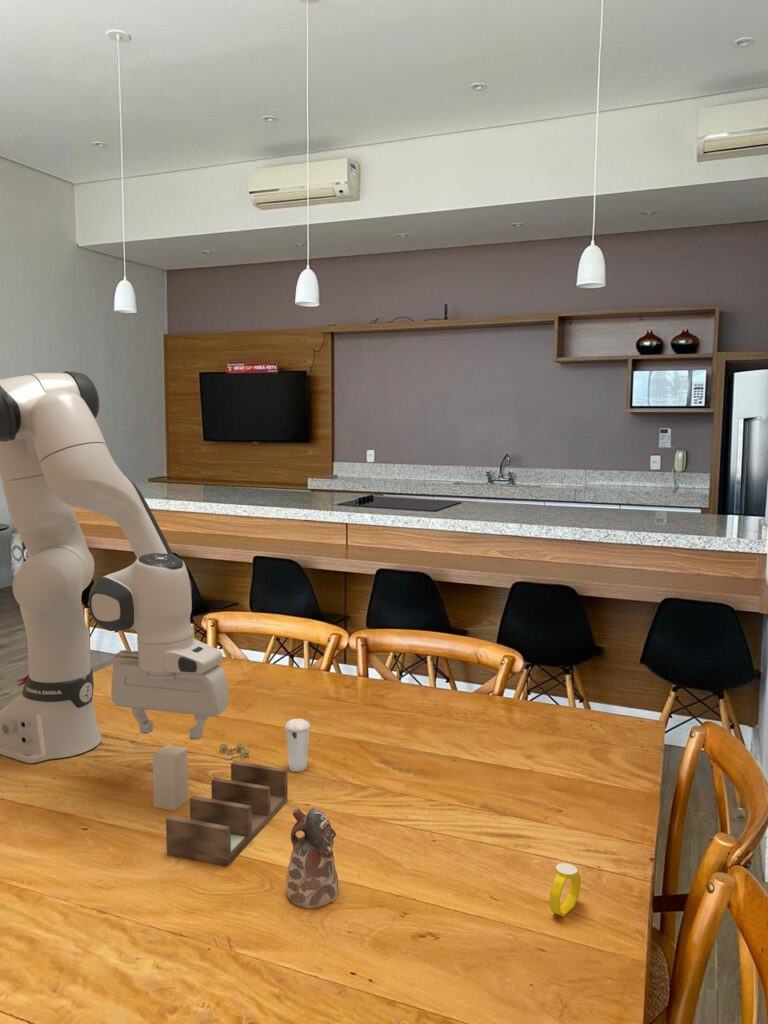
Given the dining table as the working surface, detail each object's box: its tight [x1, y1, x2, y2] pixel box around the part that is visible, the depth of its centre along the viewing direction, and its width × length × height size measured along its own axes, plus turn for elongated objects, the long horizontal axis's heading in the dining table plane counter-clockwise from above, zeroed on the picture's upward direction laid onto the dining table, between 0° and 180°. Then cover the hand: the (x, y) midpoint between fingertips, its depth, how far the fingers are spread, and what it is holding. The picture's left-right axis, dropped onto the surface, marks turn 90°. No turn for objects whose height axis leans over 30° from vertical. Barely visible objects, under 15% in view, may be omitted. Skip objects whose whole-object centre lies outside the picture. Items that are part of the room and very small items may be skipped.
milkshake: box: [284, 716, 314, 773], centre depth 146 cm, size 4×5×10 cm
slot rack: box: [165, 760, 289, 867], centre depth 126 cm, size 10×21×6 cm, turn 163°
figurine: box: [285, 807, 340, 910], centre depth 108 cm, size 7×7×12 cm
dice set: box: [219, 742, 250, 762], centre depth 153 cm, size 5×5×2 cm
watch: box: [548, 862, 582, 918], centre depth 105 cm, size 6×3×6 cm, turn 139°
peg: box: [152, 745, 189, 811], centre depth 133 cm, size 4×4×9 cm
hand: (171, 735), depth 132 cm, fingers open, 8 cm apart
